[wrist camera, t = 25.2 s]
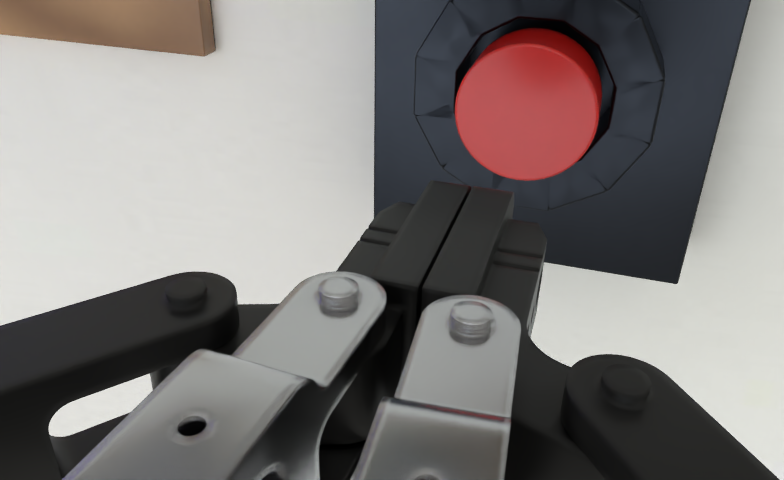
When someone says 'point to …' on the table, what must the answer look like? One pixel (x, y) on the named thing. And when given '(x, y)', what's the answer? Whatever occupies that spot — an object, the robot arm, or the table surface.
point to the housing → (614, 131)
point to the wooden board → (115, 23)
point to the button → (529, 104)
